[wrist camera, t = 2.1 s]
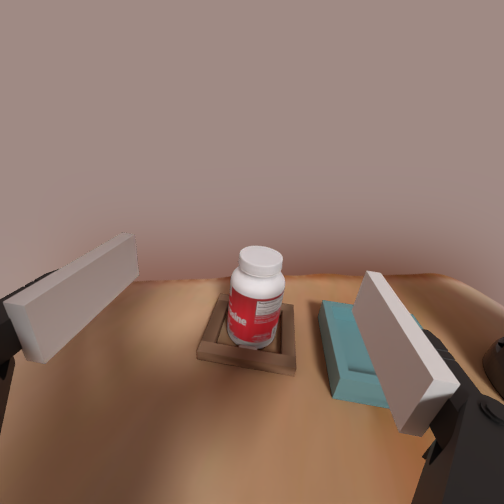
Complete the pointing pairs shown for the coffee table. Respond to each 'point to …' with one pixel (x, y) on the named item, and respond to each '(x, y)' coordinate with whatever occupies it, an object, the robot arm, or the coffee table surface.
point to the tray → (348, 357)
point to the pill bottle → (255, 297)
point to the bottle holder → (249, 354)
